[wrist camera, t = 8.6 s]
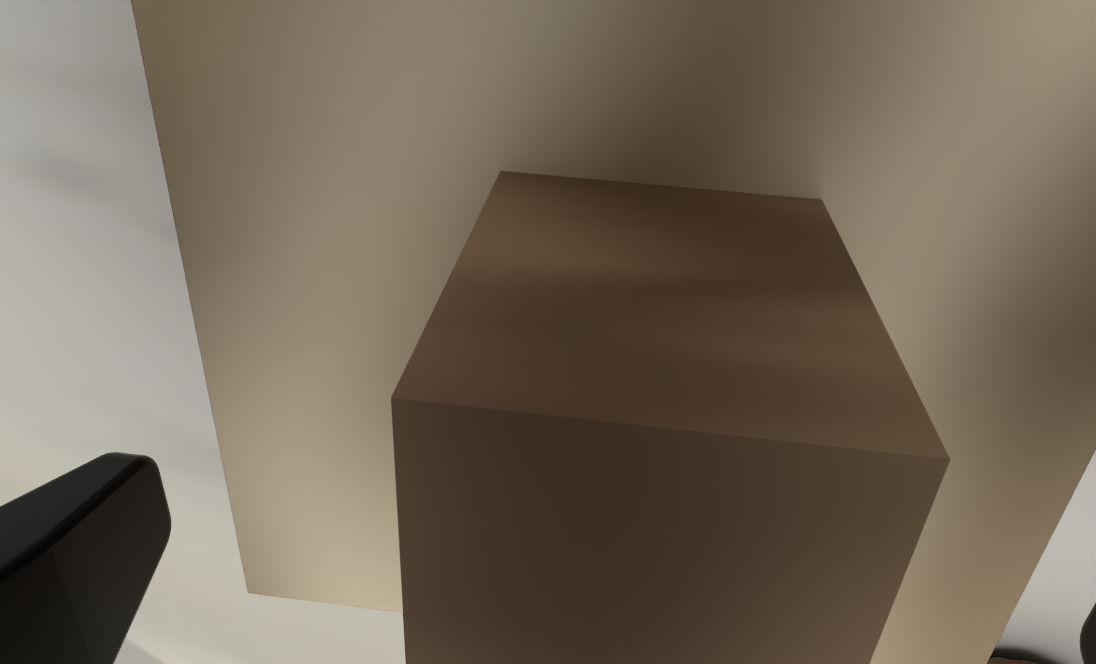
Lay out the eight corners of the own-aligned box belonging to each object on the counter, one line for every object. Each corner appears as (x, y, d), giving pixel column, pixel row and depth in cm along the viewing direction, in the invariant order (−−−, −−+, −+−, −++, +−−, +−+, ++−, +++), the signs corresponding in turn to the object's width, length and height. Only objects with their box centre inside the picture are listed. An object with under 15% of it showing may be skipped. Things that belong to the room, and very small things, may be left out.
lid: (1370, -216, 8) (2536, -332, 3) (959, 647, 15) (1117, 1052, 10) (117, -282, 9) (-557, -457, 4) (265, 560, 16) (83, 891, 11)
